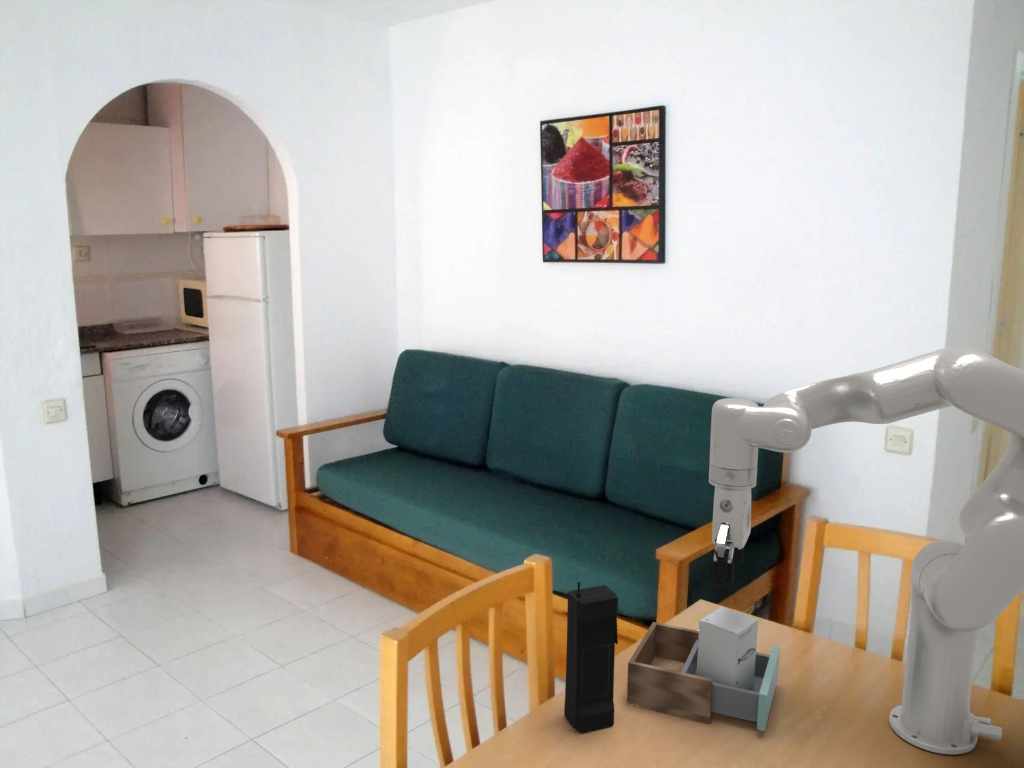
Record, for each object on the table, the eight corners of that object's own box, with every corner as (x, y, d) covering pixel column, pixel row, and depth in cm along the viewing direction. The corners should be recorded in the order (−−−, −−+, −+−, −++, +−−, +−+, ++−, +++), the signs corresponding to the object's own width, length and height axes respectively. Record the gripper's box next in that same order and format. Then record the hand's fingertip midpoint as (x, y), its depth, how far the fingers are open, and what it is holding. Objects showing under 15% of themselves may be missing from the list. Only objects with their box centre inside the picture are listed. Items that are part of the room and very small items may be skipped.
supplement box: (733, 705, 135) (737, 634, 132) (694, 687, 140) (697, 619, 137) (755, 687, 140) (759, 619, 137) (717, 671, 145) (720, 604, 142)
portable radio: (604, 705, 139) (607, 566, 134) (621, 724, 133) (625, 581, 129) (561, 714, 136) (564, 573, 131) (577, 735, 130) (580, 588, 126)
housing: (727, 675, 148) (729, 637, 146) (709, 724, 133) (711, 681, 132) (651, 659, 154) (653, 621, 152) (626, 703, 139) (628, 662, 138)
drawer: (777, 678, 144) (780, 646, 143) (764, 731, 129) (766, 695, 128) (697, 661, 150) (698, 629, 149) (675, 709, 135) (676, 675, 134)
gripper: (747, 492, 124) (742, 598, 127) (763, 463, 139) (758, 558, 142) (698, 486, 127) (694, 589, 130) (719, 458, 142) (715, 551, 145)
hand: (727, 573), depth 136 cm, fingers open, 9 cm apart
